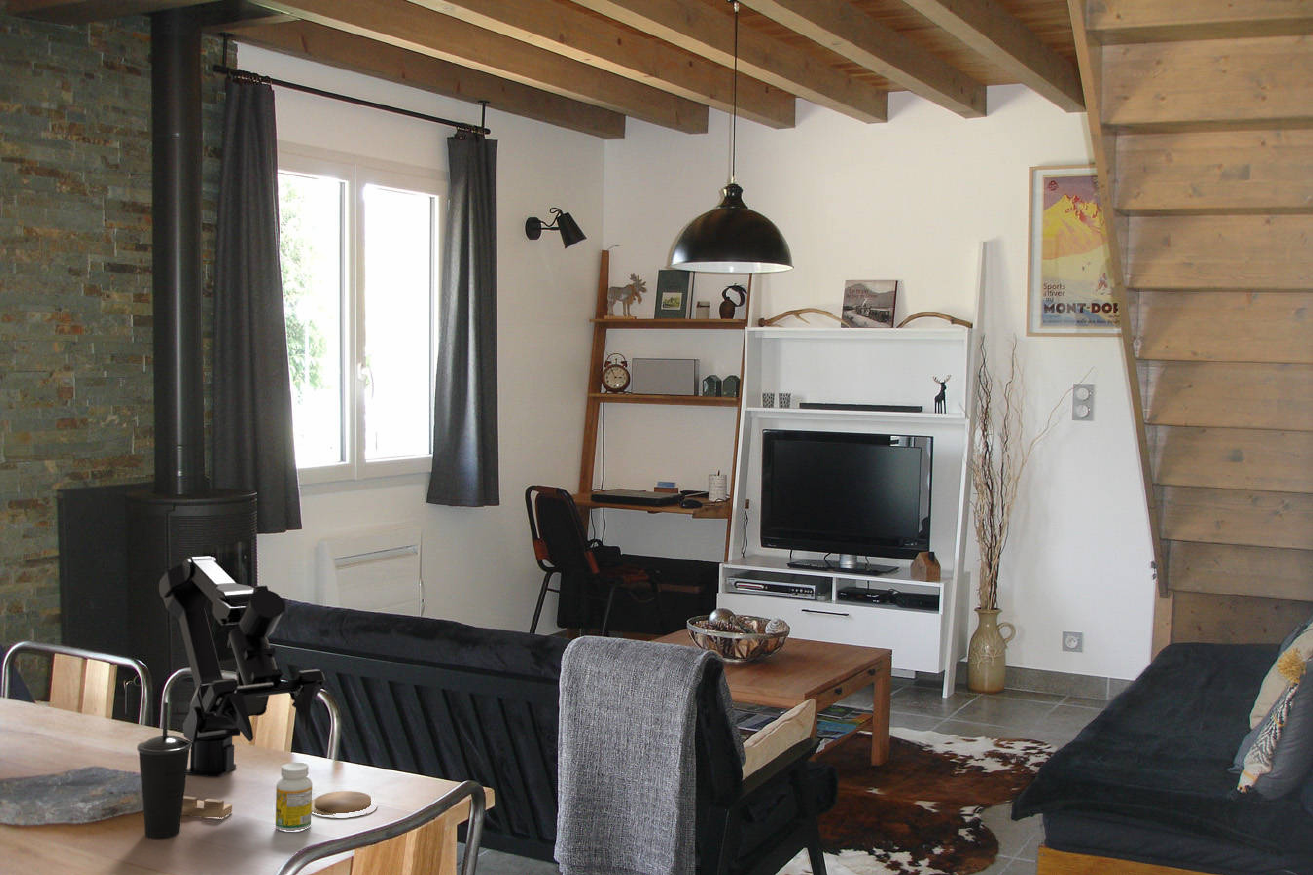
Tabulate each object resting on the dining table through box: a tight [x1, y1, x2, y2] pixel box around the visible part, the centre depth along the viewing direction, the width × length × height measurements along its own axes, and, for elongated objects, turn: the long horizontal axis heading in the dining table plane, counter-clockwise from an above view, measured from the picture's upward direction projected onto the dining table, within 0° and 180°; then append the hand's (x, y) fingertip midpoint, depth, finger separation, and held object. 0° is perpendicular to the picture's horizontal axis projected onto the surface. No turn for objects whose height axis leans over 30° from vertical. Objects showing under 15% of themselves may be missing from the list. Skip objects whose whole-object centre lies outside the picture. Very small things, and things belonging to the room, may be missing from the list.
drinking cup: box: [137, 701, 192, 840], centre depth 188 cm, size 8×8×20 cm
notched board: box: [181, 795, 233, 818], centre depth 197 cm, size 8×3×3 cm, turn 78°
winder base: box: [312, 790, 372, 816], centre depth 203 cm, size 11×11×1 cm
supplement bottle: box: [275, 762, 313, 831], centre depth 193 cm, size 5×5×10 cm
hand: (279, 735), depth 197 cm, fingers open, 9 cm apart
